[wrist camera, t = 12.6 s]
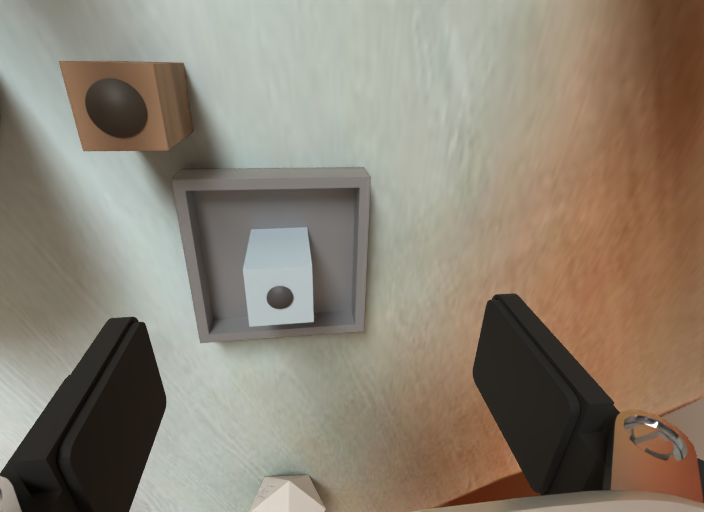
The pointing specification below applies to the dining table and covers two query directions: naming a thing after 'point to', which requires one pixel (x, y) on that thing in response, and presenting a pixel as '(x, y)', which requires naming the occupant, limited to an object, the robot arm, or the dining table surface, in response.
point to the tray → (269, 213)
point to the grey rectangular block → (278, 277)
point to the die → (287, 495)
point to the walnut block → (128, 104)
